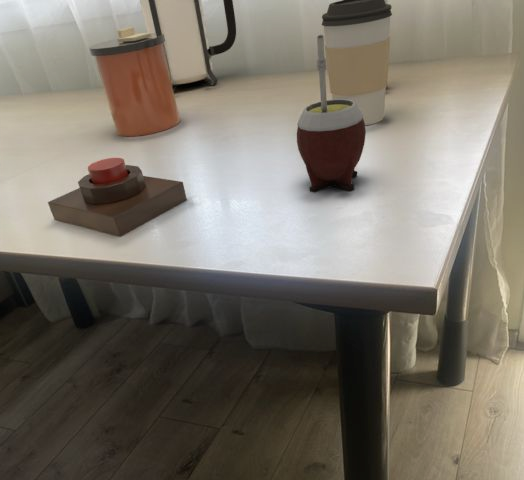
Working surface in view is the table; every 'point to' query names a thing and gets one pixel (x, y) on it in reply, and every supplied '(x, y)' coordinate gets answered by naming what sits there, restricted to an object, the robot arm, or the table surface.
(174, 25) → the coffee press
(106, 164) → the button
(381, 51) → the coffee cup
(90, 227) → the button base
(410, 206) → the table surface
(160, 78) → the tumbler
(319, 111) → the mate gourd
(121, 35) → the slider
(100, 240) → the table surface
